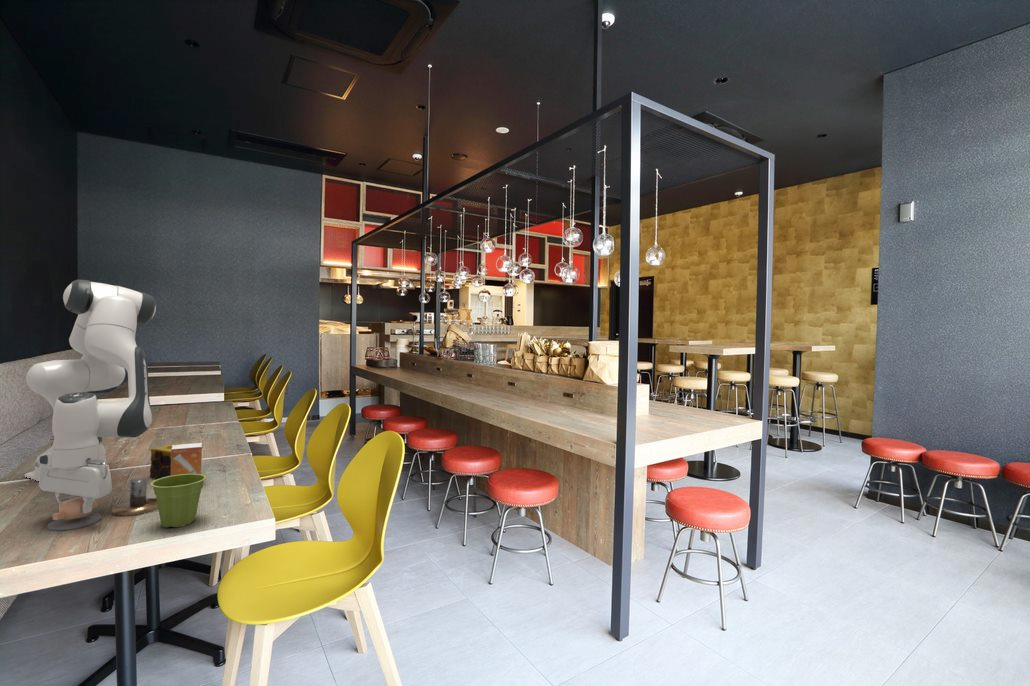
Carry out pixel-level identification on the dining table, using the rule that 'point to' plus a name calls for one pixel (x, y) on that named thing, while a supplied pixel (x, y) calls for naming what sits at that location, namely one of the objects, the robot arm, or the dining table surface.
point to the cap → (71, 508)
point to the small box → (186, 459)
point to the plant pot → (178, 498)
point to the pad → (74, 522)
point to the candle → (161, 461)
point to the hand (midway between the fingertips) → (75, 510)
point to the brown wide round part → (136, 500)
